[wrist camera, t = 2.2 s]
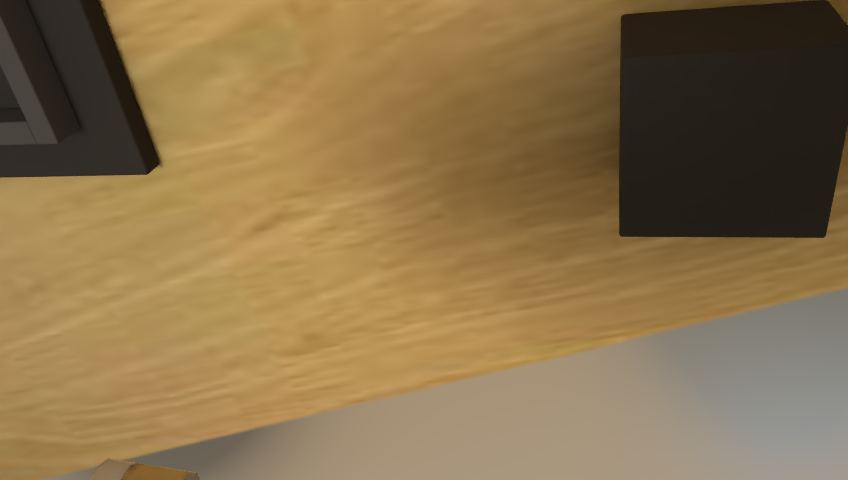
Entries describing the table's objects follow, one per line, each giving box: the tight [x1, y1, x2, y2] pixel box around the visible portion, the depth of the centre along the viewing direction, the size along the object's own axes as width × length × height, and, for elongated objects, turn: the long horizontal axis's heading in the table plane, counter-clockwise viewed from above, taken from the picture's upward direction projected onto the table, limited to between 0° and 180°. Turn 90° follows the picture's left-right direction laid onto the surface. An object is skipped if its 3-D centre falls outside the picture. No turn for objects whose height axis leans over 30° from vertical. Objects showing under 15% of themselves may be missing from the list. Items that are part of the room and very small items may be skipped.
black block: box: [619, 0, 848, 238], centre depth 22 cm, size 6×6×4 cm
